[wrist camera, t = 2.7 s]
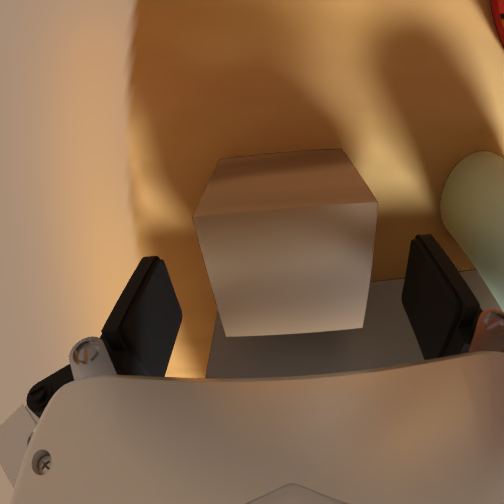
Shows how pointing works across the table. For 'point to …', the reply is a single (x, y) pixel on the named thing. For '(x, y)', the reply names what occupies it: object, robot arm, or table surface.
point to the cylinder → (478, 215)
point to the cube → (288, 242)
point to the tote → (333, 340)
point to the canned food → (499, 16)
